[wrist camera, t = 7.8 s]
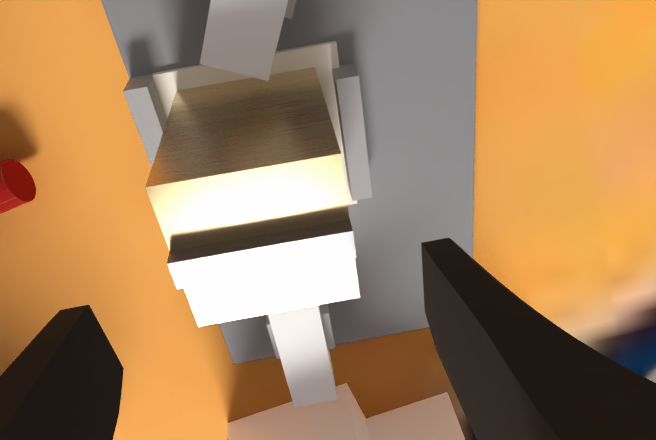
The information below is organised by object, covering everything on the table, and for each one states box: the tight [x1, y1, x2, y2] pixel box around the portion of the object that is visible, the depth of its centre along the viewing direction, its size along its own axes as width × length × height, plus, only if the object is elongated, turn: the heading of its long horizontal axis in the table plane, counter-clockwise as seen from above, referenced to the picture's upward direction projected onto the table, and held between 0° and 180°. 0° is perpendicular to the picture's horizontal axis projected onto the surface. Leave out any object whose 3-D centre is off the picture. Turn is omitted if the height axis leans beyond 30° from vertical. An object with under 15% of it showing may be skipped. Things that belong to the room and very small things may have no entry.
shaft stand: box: [101, 0, 477, 408], centre depth 18 cm, size 19×11×4 cm, turn 8°
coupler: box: [146, 67, 360, 326], centre depth 15 cm, size 4×4×6 cm
